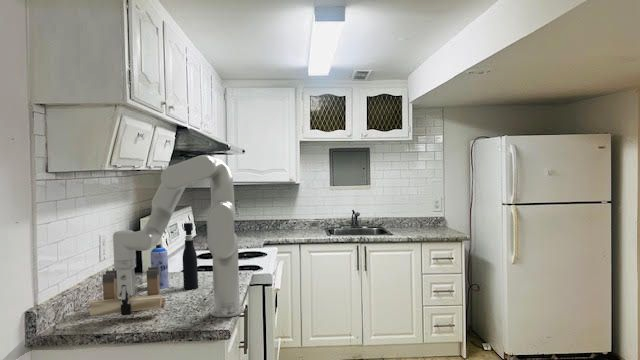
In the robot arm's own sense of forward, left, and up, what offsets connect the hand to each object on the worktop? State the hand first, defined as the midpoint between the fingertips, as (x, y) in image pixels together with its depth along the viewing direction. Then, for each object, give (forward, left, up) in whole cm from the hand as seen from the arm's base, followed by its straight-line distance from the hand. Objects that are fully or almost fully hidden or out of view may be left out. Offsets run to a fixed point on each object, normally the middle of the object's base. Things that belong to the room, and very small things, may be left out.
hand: (127, 312), depth 167 cm
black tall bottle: (+36, -22, -3) cm, 42 cm away
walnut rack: (+14, 0, -2) cm, 14 cm away
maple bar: (0, 0, +1) cm, 1 cm away
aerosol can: (+44, -8, -3) cm, 45 cm away
